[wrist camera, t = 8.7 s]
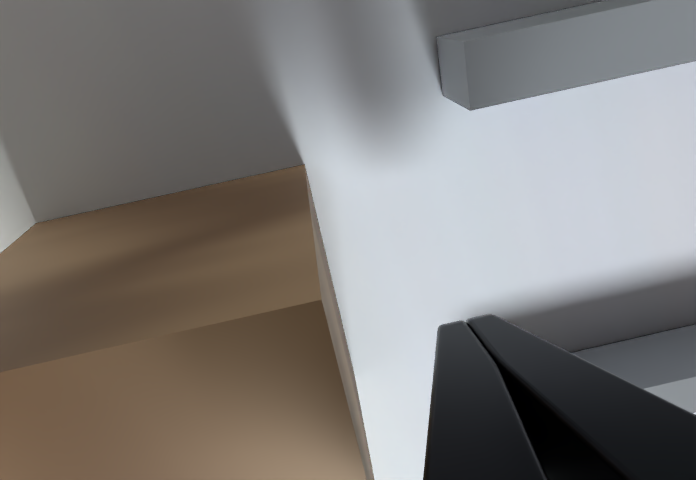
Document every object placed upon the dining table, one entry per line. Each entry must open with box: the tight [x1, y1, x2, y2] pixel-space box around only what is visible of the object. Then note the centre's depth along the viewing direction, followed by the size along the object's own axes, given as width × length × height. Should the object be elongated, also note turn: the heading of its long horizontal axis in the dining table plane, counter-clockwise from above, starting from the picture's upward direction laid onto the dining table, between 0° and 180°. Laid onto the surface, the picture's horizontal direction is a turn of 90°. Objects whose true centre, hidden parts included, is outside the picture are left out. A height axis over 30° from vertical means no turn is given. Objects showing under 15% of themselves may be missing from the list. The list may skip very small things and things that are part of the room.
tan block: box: [0, 164, 374, 480], centre depth 8 cm, size 5×5×5 cm
